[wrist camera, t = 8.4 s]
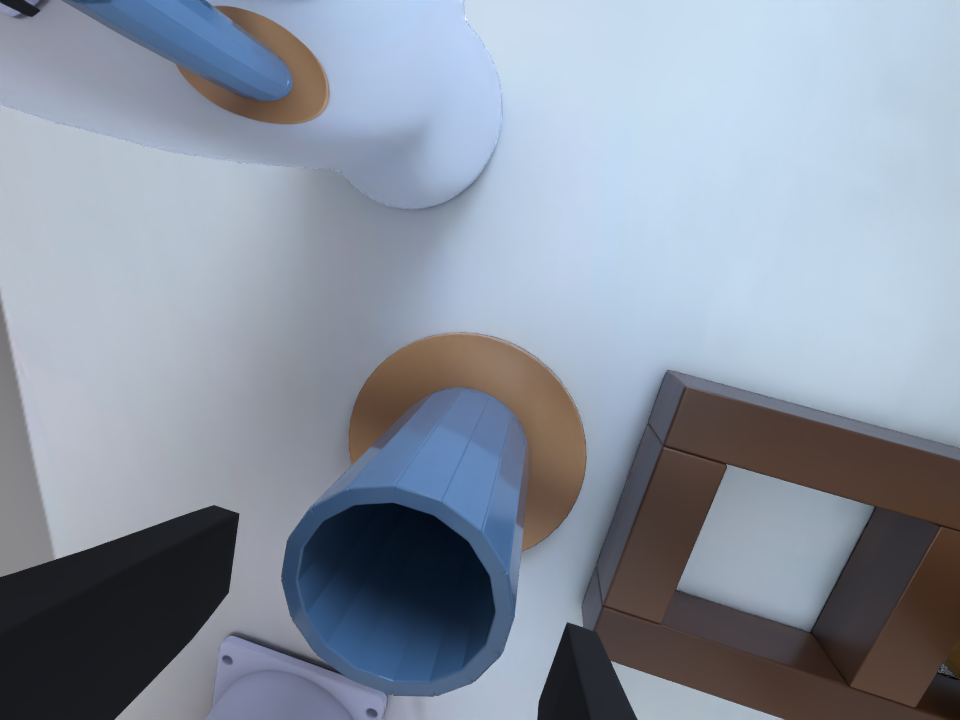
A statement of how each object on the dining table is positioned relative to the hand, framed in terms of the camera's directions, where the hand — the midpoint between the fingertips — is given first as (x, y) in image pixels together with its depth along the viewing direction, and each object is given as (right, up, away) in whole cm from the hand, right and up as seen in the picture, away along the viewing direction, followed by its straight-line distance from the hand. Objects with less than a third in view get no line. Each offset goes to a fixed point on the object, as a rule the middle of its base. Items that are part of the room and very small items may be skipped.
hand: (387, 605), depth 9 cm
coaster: (+1, +2, +8) cm, 8 cm away
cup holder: (+16, -2, +6) cm, 17 cm away
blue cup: (+1, +2, +7) cm, 8 cm away
